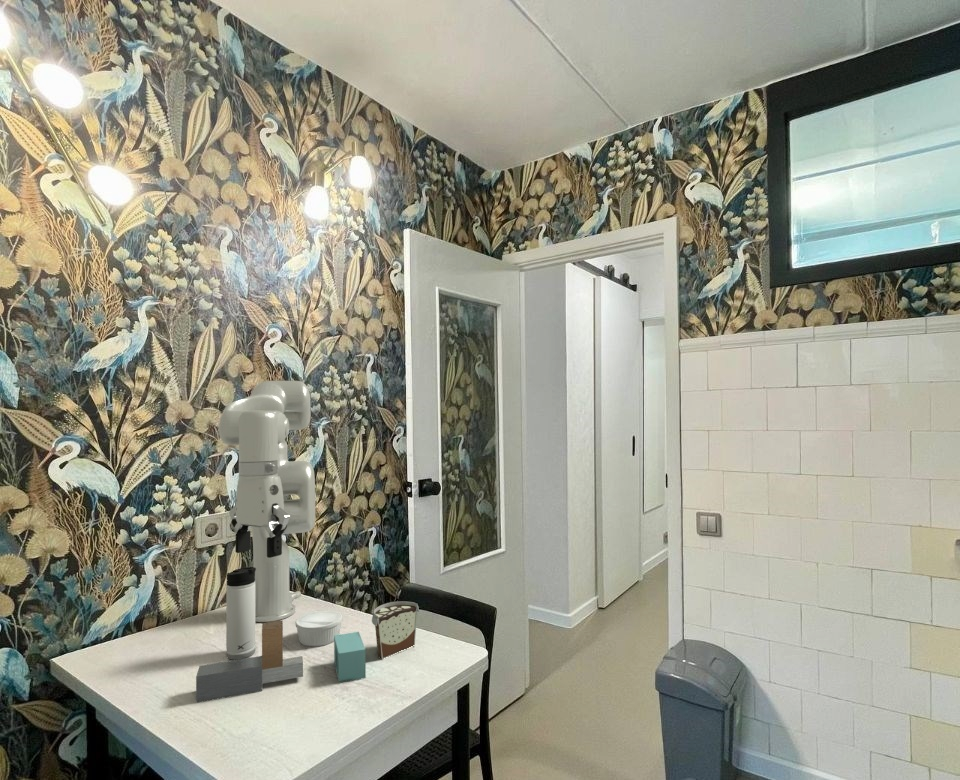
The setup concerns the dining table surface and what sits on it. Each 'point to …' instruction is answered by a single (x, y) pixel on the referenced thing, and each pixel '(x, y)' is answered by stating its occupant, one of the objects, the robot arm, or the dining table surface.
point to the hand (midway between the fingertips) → (258, 553)
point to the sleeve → (229, 678)
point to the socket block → (349, 657)
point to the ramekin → (318, 627)
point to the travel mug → (240, 613)
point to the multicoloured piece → (277, 655)
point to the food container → (395, 627)
